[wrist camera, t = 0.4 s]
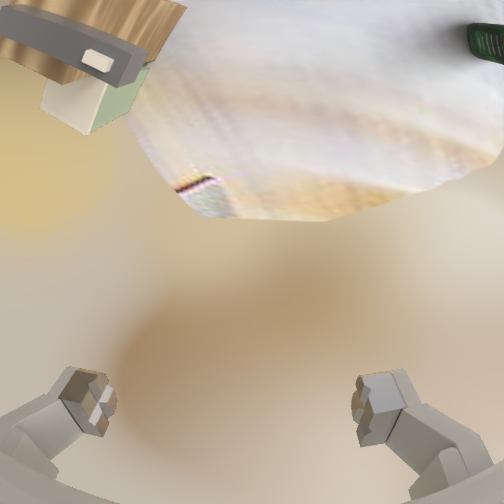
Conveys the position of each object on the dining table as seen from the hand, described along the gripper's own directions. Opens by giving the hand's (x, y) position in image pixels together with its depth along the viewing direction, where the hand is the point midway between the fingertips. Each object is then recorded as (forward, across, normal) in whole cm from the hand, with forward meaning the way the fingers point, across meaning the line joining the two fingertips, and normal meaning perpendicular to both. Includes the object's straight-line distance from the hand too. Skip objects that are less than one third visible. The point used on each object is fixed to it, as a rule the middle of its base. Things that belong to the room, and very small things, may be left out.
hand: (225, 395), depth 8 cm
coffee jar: (+37, -45, -31) cm, 66 cm away
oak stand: (+44, +20, -34) cm, 59 cm away
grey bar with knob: (+20, +18, -23) cm, 35 cm away
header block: (+48, +26, -24) cm, 60 cm away
